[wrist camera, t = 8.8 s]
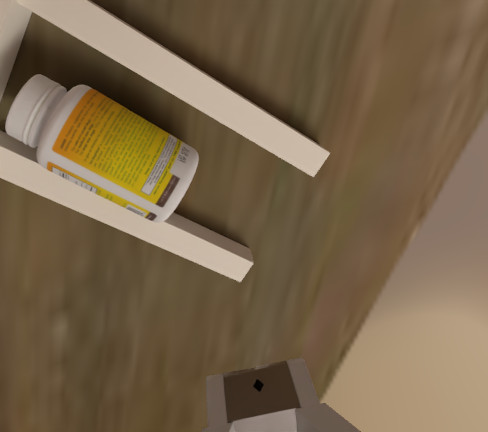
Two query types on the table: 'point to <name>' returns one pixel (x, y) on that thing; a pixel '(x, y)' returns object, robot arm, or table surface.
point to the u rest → (172, 80)
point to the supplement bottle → (103, 147)
